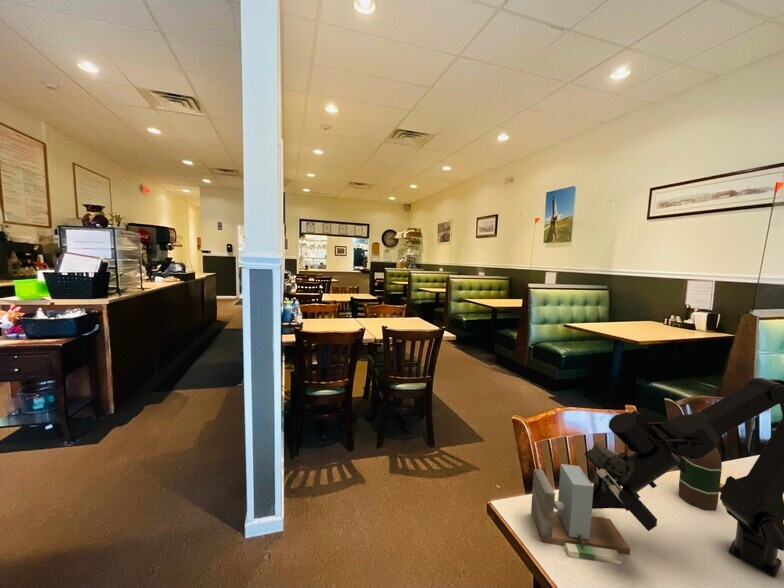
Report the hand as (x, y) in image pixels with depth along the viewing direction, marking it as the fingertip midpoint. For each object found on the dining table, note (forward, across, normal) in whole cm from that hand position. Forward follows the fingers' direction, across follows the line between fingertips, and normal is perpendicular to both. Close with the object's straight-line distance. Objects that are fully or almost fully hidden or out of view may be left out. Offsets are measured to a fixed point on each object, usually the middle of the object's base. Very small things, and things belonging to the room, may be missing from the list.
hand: (584, 506), depth 70 cm
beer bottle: (-20, -17, +30) cm, 39 cm away
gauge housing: (+6, +1, +4) cm, 7 cm away
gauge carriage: (+6, +1, +1) cm, 6 cm away
